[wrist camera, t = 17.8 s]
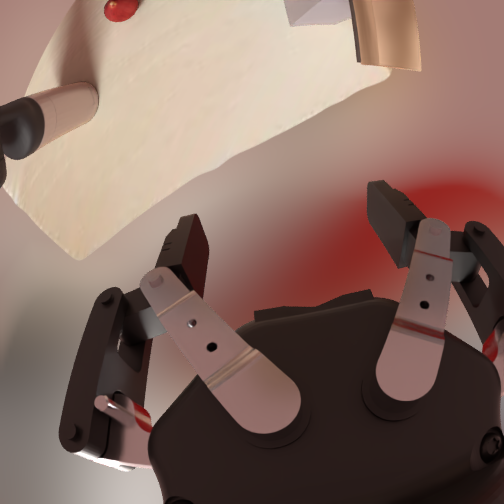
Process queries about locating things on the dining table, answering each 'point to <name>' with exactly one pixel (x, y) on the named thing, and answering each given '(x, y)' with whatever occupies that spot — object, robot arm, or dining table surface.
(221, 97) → the dining table surface
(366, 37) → the stamp
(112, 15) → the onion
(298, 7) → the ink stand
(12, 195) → the dining table surface
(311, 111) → the dining table surface
